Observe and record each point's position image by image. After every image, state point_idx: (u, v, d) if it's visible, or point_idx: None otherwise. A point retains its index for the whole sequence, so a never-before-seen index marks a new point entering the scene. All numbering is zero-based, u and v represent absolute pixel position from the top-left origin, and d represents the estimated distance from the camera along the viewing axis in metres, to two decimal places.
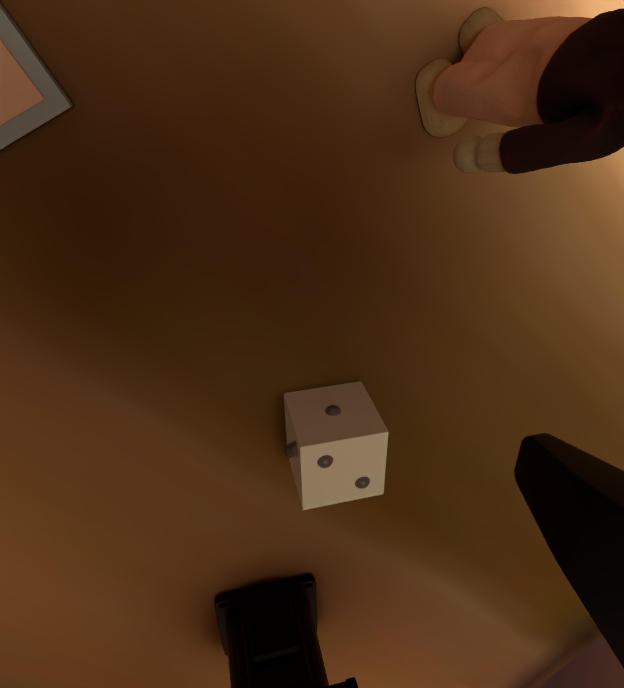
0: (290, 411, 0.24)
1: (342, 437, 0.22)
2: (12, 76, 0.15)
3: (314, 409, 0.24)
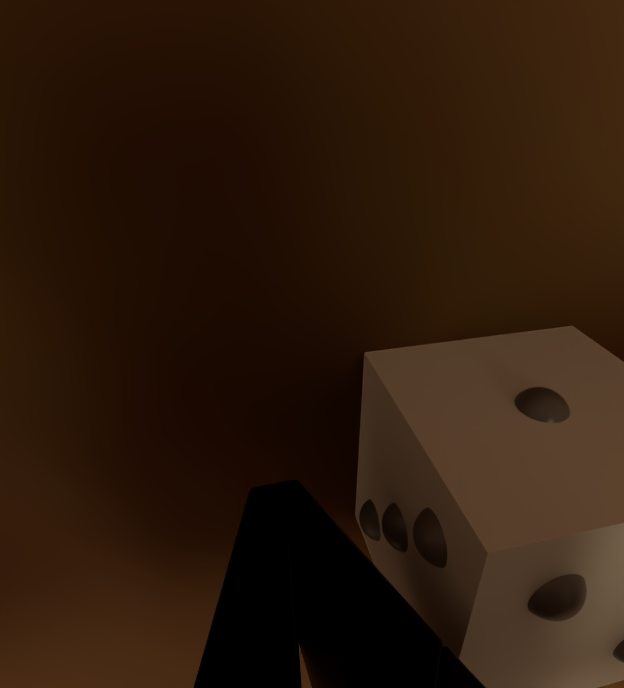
0: (402, 406, 0.07)
1: None
2: None
3: (478, 401, 0.07)
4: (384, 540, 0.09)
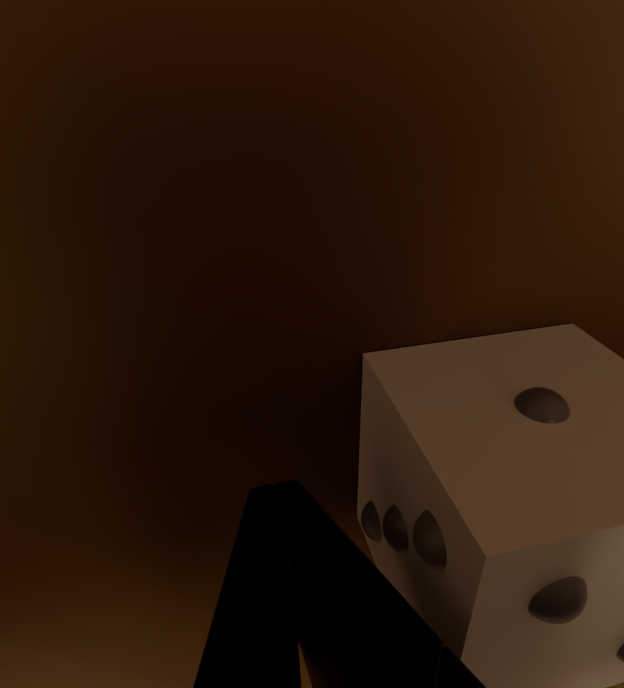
0: (400, 408, 0.07)
1: None
2: None
3: (477, 402, 0.07)
4: (385, 542, 0.09)
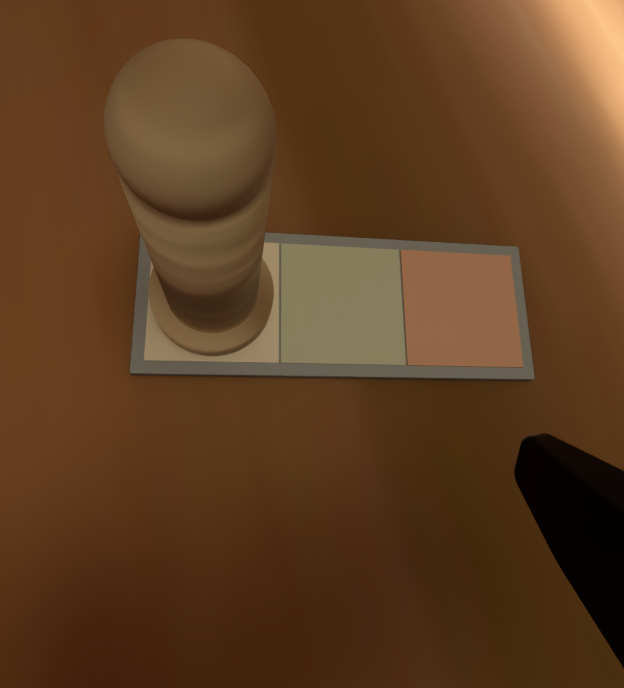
0: None
1: None
2: (514, 348, 0.24)
3: None
4: None
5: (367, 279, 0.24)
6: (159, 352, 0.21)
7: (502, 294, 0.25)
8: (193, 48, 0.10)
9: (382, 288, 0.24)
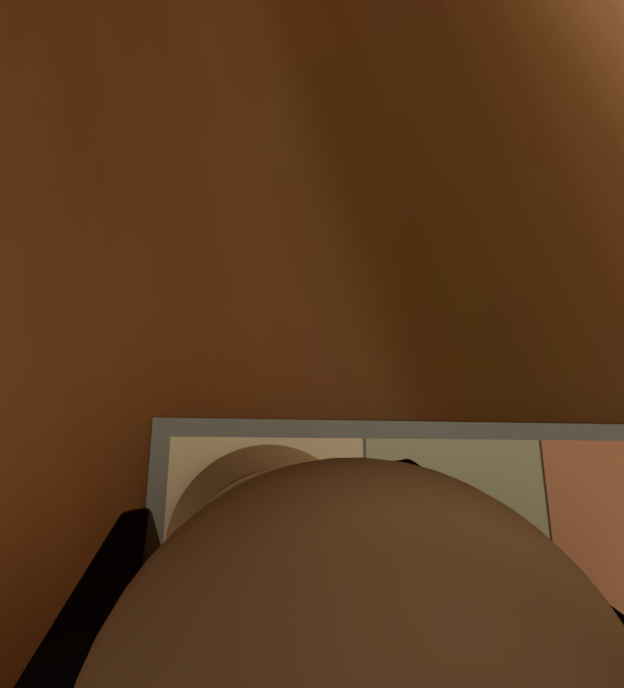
0: None
1: None
2: None
3: None
4: None
5: (495, 492, 0.16)
6: None
7: None
8: None
9: (518, 504, 0.16)
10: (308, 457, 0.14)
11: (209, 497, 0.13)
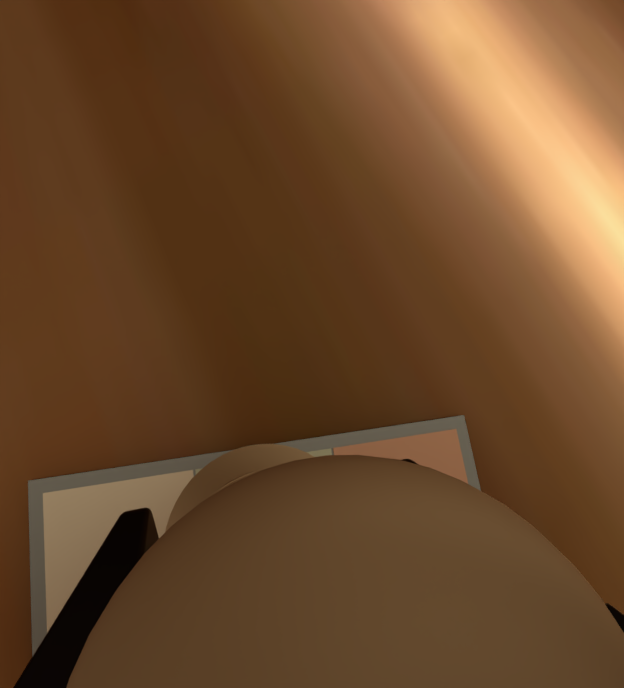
0: None
1: None
2: None
3: None
4: None
5: None
6: None
7: None
8: None
9: None
10: (306, 456, 0.14)
11: (207, 496, 0.13)
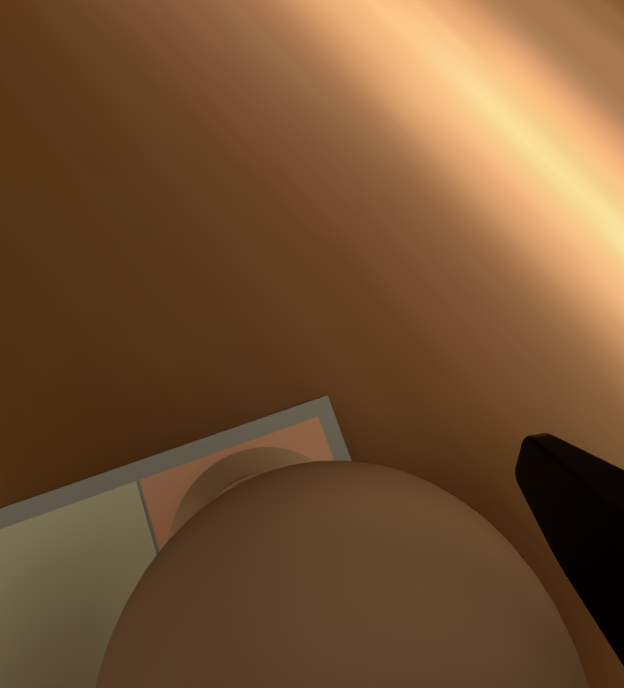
0: None
1: None
2: None
3: None
4: None
5: (94, 557, 0.14)
6: None
7: None
8: None
9: (125, 559, 0.14)
10: (304, 459, 0.15)
11: (210, 497, 0.14)
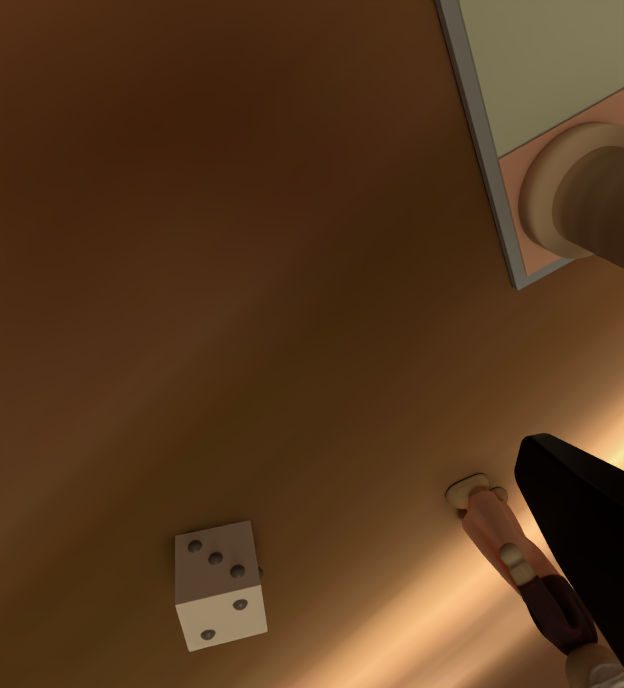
0: None
1: (263, 606, 0.25)
2: (543, 259, 0.22)
3: None
4: (197, 554, 0.26)
5: (587, 60, 0.18)
6: None
7: None
8: None
9: (579, 86, 0.19)
10: None
11: None
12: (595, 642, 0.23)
